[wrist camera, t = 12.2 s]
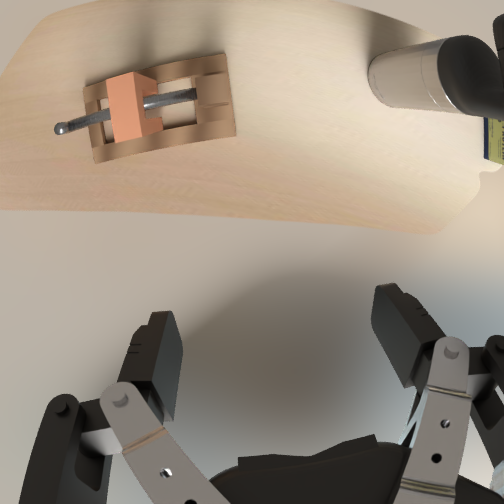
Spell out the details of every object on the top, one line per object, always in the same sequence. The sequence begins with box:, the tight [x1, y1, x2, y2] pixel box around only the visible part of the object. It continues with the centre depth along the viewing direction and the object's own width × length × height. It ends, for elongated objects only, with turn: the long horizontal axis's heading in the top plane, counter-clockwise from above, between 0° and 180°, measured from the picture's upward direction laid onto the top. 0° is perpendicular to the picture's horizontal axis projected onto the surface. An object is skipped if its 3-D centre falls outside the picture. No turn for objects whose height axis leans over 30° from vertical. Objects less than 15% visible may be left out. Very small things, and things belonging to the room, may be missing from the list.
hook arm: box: [54, 87, 198, 135], centre depth 28 cm, size 17×1×3 cm, turn 97°
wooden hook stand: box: [83, 54, 236, 164], centre depth 32 cm, size 21×12×12 cm, turn 97°
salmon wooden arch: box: [106, 72, 163, 143], centre depth 30 cm, size 7×3×10 cm, turn 6°
